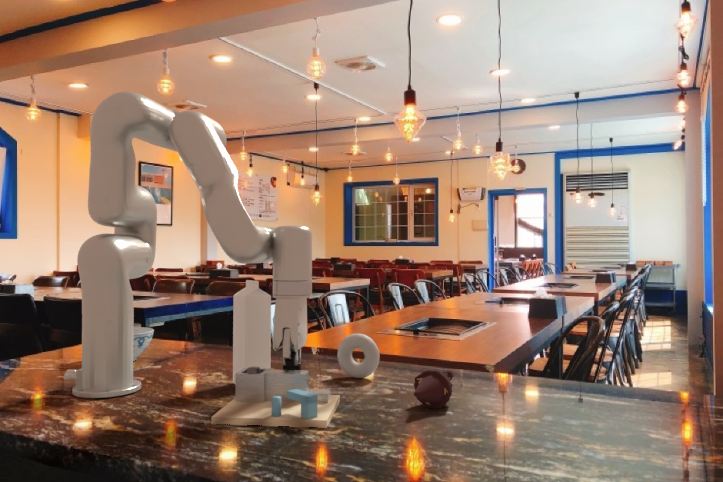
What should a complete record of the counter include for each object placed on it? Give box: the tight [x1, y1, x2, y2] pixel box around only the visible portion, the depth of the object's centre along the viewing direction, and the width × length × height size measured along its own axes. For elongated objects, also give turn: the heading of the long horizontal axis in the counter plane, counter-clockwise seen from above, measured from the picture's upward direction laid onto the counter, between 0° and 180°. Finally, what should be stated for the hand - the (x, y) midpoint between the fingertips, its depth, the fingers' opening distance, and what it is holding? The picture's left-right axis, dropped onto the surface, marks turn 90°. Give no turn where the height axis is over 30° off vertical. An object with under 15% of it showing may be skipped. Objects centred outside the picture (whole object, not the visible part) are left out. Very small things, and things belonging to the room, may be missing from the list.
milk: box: [232, 279, 272, 385], centre depth 120 cm, size 6×6×22 cm
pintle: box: [247, 367, 260, 373], centre depth 104 cm, size 2×2×6 cm
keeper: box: [271, 389, 318, 419], centre depth 93 cm, size 6×5×5 cm
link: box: [234, 368, 331, 403], centre depth 103 cm, size 17×5×5 cm, turn 85°
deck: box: [210, 394, 341, 429], centre depth 99 cm, size 19×16×1 cm
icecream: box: [413, 369, 455, 410], centre depth 103 cm, size 7×7×15 cm
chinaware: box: [133, 326, 155, 362], centre depth 145 cm, size 15×15×8 cm
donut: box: [336, 333, 381, 379], centre depth 126 cm, size 10×4×10 cm, turn 68°
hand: (291, 385), depth 109 cm, fingers closed
